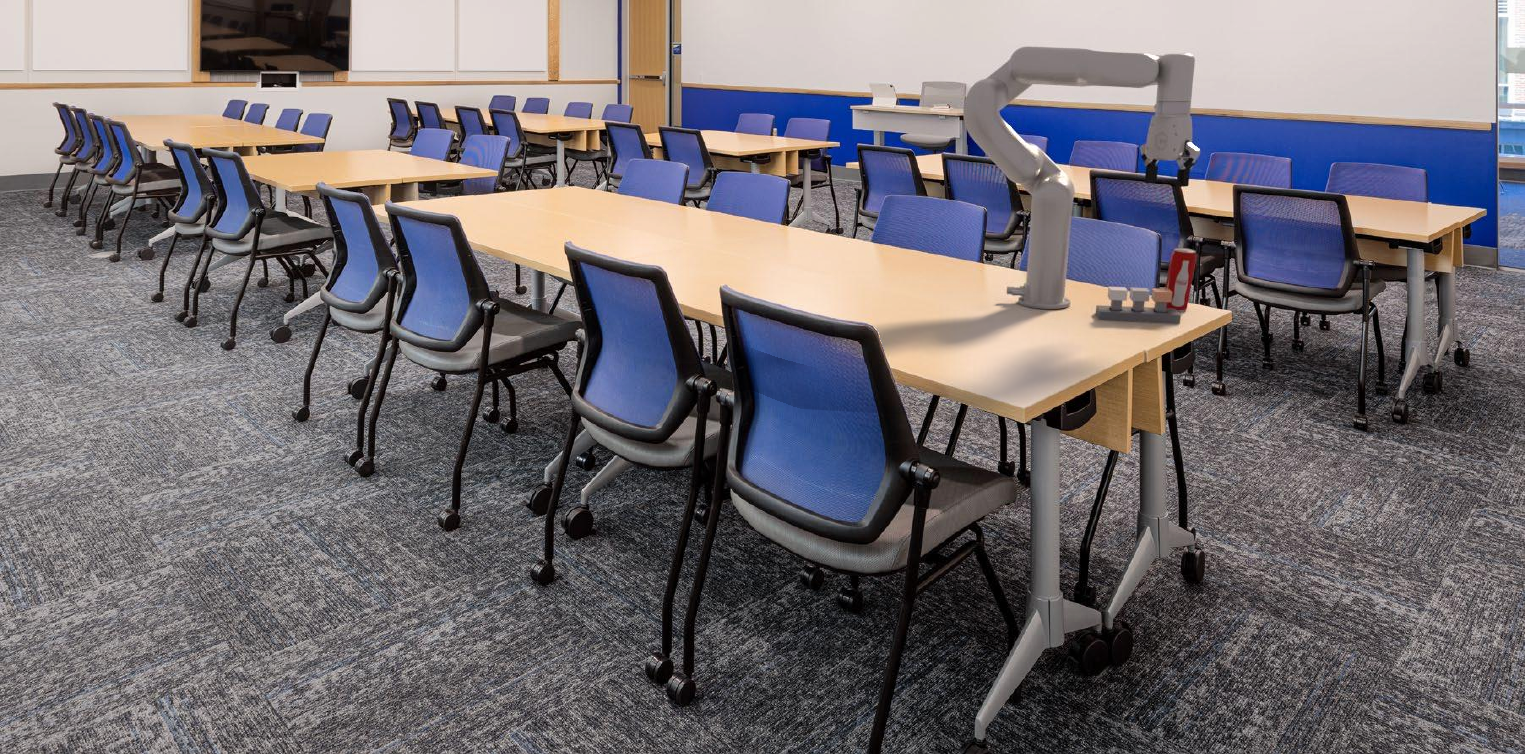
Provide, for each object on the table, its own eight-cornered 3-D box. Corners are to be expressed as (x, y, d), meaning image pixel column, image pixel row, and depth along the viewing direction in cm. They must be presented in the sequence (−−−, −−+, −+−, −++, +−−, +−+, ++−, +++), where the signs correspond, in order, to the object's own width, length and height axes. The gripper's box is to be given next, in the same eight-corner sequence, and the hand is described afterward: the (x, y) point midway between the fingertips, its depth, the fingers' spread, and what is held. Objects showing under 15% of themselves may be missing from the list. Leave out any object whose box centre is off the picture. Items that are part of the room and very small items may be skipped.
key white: (1108, 310, 245) (1110, 290, 244) (1106, 306, 249) (1108, 286, 247) (1125, 311, 245) (1127, 290, 243) (1122, 307, 248) (1125, 287, 247)
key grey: (1130, 311, 245) (1133, 290, 243) (1128, 307, 248) (1130, 287, 247) (1147, 311, 244) (1150, 291, 242) (1144, 308, 248) (1147, 288, 246)
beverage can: (1166, 305, 260) (1173, 246, 255) (1193, 309, 256) (1200, 249, 251) (1158, 309, 255) (1165, 249, 251) (1185, 313, 251) (1192, 252, 247)
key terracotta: (1153, 312, 244) (1155, 291, 242) (1150, 308, 247) (1152, 288, 246) (1170, 312, 243) (1172, 292, 242) (1166, 309, 247) (1169, 288, 245)
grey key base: (1099, 320, 245) (1100, 311, 244) (1095, 313, 251) (1096, 305, 251) (1179, 323, 242) (1180, 315, 241) (1173, 316, 248) (1174, 308, 248)
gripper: (1132, 109, 245) (1127, 182, 250) (1190, 111, 230) (1183, 189, 235) (1156, 108, 248) (1150, 180, 253) (1214, 110, 233) (1207, 186, 238)
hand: (1166, 184), depth 244 cm, fingers open, 9 cm apart
